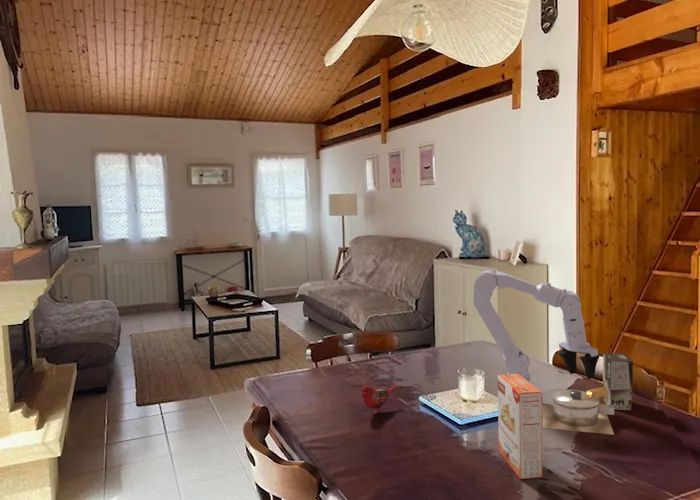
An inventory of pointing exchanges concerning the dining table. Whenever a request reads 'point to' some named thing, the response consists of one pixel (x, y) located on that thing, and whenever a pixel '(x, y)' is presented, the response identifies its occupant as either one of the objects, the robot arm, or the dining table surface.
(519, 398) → the cracker box
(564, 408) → the pot
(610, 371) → the coffee box
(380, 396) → the decorative bird figurine
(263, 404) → the dining table surface
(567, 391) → the lid with handle
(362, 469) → the dining table surface
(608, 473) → the dining table surface
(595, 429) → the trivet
